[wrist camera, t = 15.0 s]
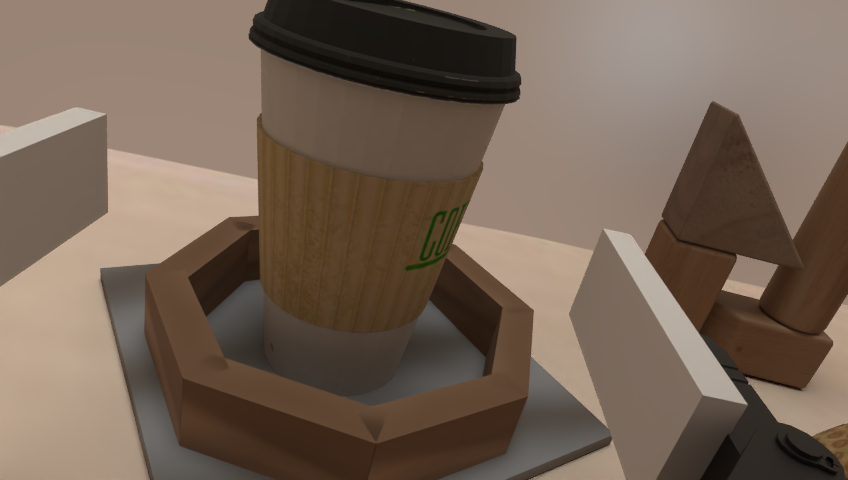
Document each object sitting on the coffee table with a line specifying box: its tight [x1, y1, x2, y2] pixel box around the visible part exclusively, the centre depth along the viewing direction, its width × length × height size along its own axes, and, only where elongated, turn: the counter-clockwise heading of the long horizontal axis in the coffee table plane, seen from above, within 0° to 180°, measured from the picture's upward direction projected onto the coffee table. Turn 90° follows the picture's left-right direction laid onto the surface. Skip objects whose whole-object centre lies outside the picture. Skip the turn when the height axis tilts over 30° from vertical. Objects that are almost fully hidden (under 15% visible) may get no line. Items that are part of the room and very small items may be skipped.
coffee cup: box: [249, 0, 521, 396], centre depth 23 cm, size 10×10×15 cm
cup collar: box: [100, 216, 612, 480], centre depth 26 cm, size 18×18×4 cm
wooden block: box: [645, 101, 848, 388], centre depth 31 cm, size 4×11×18 cm, turn 83°
